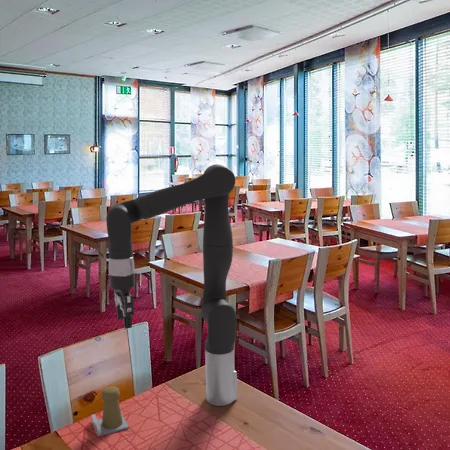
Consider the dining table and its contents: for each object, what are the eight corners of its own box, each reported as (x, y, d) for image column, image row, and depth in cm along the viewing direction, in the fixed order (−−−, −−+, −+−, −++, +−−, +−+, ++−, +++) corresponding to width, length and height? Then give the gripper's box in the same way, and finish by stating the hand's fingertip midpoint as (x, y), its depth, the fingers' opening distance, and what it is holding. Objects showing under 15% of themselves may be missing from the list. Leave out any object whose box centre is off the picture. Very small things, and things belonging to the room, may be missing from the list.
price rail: (95, 421, 151) (95, 414, 150) (101, 435, 144) (100, 427, 143) (92, 422, 150) (91, 414, 150) (97, 436, 143) (97, 428, 143)
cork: (125, 418, 151) (124, 384, 149) (118, 429, 145) (116, 394, 143) (107, 416, 152) (105, 382, 150) (98, 428, 146) (96, 392, 144)
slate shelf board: (121, 415, 154) (121, 413, 154) (128, 428, 147) (128, 426, 147) (95, 421, 151) (95, 419, 151) (101, 435, 144) (101, 433, 143)
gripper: (104, 267, 155) (107, 317, 158) (115, 279, 142) (118, 333, 145) (128, 264, 158) (130, 314, 161) (140, 275, 146) (143, 328, 148)
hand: (124, 323), depth 153 cm, fingers open, 8 cm apart
